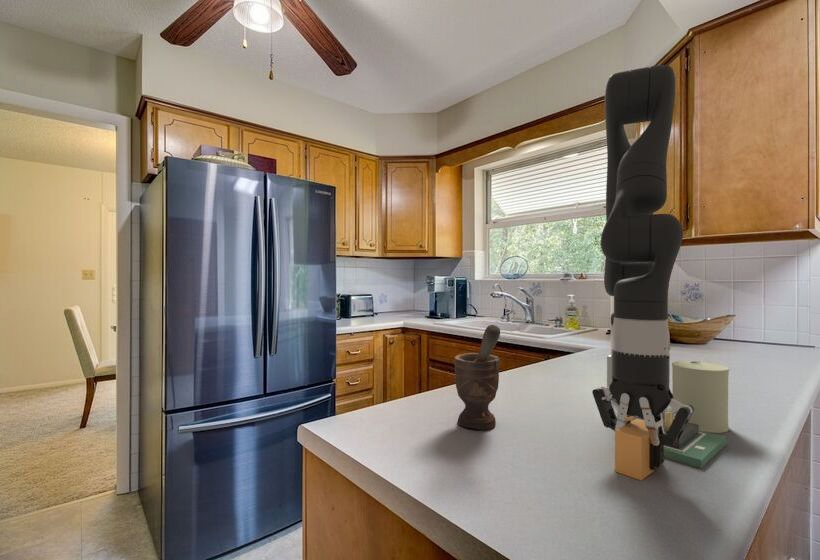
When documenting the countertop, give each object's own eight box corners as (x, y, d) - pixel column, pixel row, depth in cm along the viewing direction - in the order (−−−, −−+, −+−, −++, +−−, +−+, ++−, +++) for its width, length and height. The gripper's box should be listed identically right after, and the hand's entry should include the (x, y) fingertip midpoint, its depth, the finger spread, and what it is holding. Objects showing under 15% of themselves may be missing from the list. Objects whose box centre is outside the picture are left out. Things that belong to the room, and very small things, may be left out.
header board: (618, 443, 70) (618, 409, 70) (649, 424, 79) (650, 395, 79) (701, 468, 61) (701, 429, 61) (726, 444, 70) (726, 410, 70)
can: (718, 419, 82) (718, 360, 82) (738, 435, 74) (738, 369, 74) (665, 414, 85) (666, 357, 85) (678, 429, 77) (679, 365, 77)
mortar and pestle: (521, 430, 75) (522, 323, 75) (489, 441, 70) (490, 326, 70) (476, 414, 85) (476, 318, 85) (445, 422, 80) (445, 320, 80)
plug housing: (614, 471, 60) (614, 430, 60) (637, 456, 65) (637, 418, 65) (641, 480, 57) (641, 437, 57) (662, 464, 62) (662, 424, 62)
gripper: (581, 345, 64) (581, 454, 64) (686, 358, 53) (686, 490, 53) (603, 340, 69) (603, 442, 69) (703, 352, 58) (703, 473, 58)
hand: (639, 462), depth 61 cm, fingers closed on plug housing, 3 cm apart
